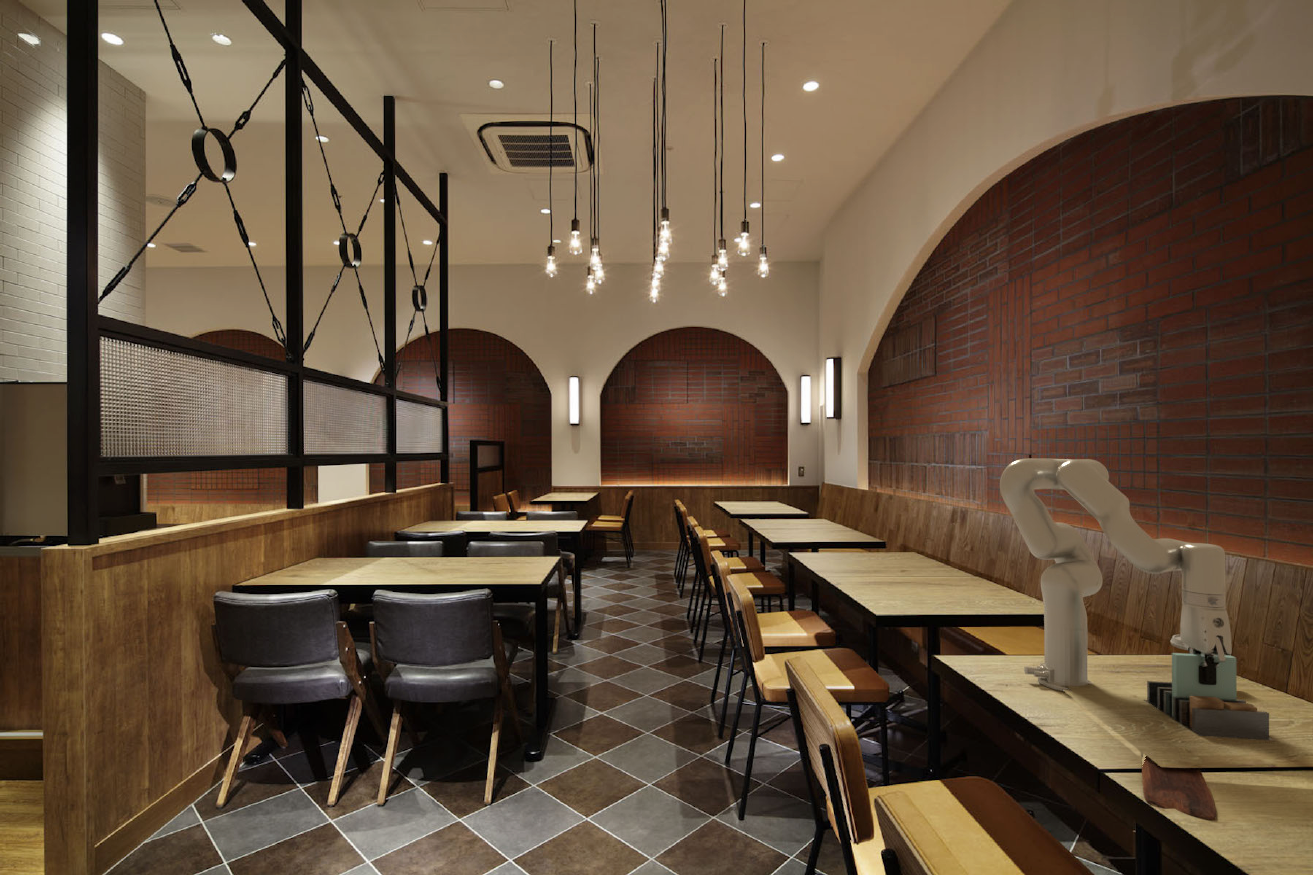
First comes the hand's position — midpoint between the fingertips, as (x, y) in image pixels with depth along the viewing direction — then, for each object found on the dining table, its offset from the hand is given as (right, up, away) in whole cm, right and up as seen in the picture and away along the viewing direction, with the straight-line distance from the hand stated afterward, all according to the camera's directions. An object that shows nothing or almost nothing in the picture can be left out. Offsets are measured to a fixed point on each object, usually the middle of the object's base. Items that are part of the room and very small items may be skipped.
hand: (1203, 681), depth 147 cm
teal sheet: (0, -8, 0) cm, 8 cm away
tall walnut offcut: (-4, -8, -6) cm, 11 cm away
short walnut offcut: (+2, -8, -6) cm, 11 cm away
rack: (0, -10, 0) cm, 10 cm away
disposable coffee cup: (+18, -10, +25) cm, 32 cm away
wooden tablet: (-26, -10, -25) cm, 37 cm away
